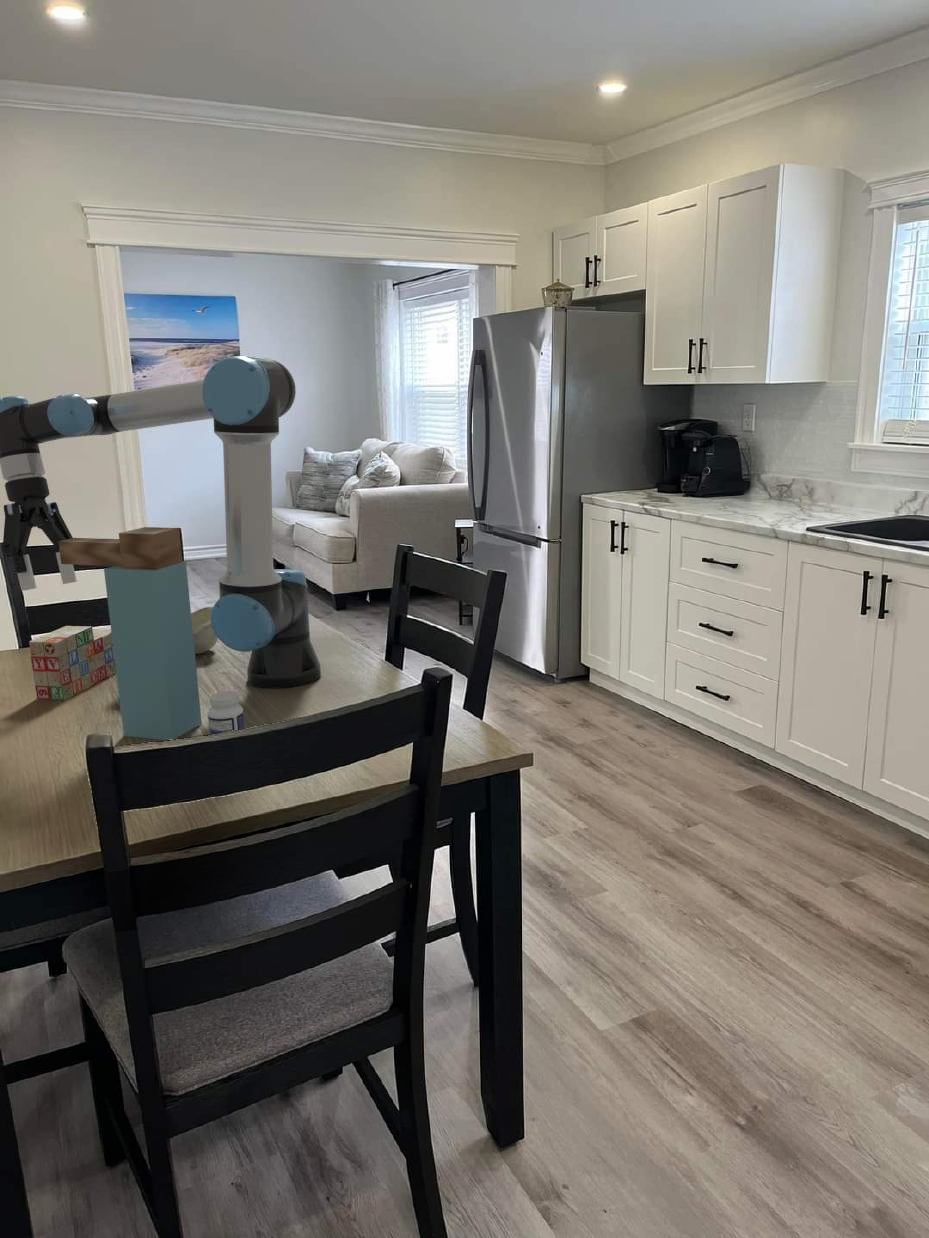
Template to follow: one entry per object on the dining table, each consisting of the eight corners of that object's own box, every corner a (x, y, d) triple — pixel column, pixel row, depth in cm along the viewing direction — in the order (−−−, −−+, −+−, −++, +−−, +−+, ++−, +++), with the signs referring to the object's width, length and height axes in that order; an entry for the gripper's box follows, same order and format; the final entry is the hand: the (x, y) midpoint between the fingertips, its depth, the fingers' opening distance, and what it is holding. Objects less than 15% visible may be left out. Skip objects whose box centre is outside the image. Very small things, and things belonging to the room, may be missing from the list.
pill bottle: (232, 742, 160) (227, 687, 157) (253, 749, 156) (249, 693, 154) (204, 752, 155) (199, 696, 153) (225, 760, 152) (220, 702, 150)
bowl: (159, 649, 220) (155, 608, 218) (219, 641, 226) (215, 601, 224) (168, 664, 207) (163, 621, 205) (231, 656, 213) (228, 613, 210)
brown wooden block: (182, 562, 161) (179, 528, 160) (157, 569, 155) (154, 534, 153) (82, 558, 168) (78, 525, 166) (55, 565, 161) (50, 531, 160)
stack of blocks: (97, 669, 206) (91, 615, 203) (123, 670, 205) (117, 615, 202) (36, 700, 186) (28, 640, 183) (64, 701, 184) (56, 641, 181)
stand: (201, 723, 169) (185, 561, 162) (172, 740, 161) (154, 570, 154) (155, 718, 172) (137, 559, 165) (123, 735, 164) (103, 568, 157)
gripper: (45, 483, 193) (69, 583, 196) (-36, 481, 169) (-8, 596, 171) (78, 476, 192) (101, 577, 194) (0, 473, 168) (28, 589, 170)
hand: (50, 586), depth 183 cm, fingers open, 13 cm apart
